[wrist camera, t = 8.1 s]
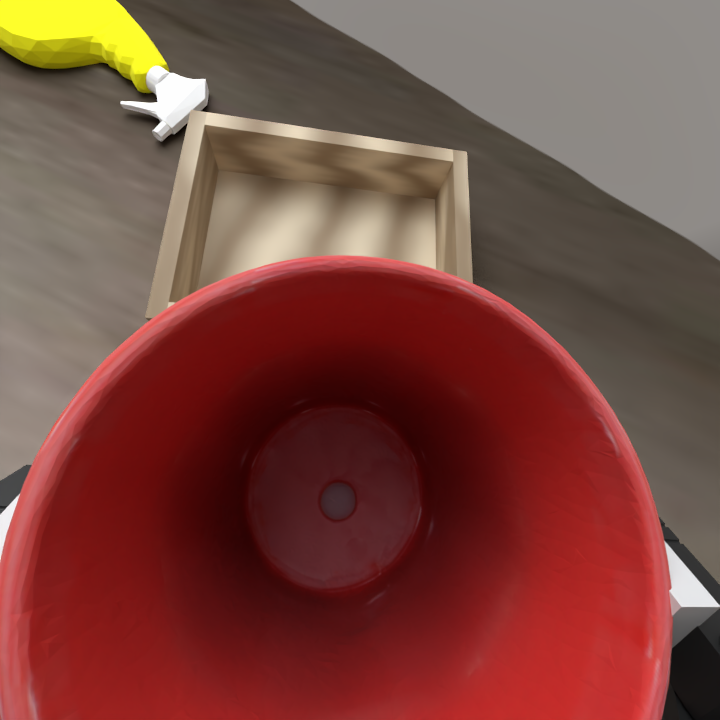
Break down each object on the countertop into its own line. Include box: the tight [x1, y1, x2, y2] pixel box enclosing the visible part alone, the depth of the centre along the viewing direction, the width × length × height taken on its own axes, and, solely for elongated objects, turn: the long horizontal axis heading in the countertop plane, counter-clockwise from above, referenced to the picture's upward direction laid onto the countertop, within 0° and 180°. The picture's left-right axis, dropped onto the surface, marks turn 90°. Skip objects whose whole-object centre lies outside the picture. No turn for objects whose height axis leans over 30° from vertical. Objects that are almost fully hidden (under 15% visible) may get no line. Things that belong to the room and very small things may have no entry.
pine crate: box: [145, 110, 473, 320], centre depth 29 cm, size 22×17×6 cm
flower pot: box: [0, 255, 673, 720], centre depth 10 cm, size 11×11×10 cm
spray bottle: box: [0, 0, 209, 141], centre depth 33 cm, size 3×11×24 cm
